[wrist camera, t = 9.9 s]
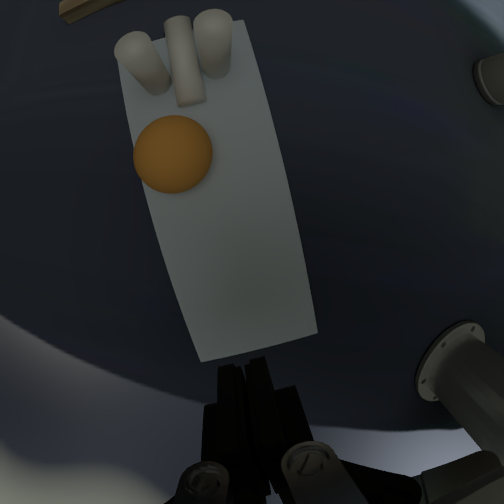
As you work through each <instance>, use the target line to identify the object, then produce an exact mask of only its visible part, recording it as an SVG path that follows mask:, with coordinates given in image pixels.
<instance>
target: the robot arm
mask: <svg viewBox="0 0 504 504" xmlns="http://www.w3.org/2000/svg"><path fill="white" fill-rule="evenodd" d="M245 374H246V381H245V378H244V375H243V372H242V369H241V367H240V366H238V367H235V365H234V364H229V365H224V366H219V367H218V387H217V403H214V404H208V405H205V406H204V414H203V431H202V451H201V462H199V463H196V464H193V465H192V466H190V467H188V468H187V469H186V470H185V471H184V472H183V474H182V475H181V477H180V480H179V483H178V487H177V490H176V494H175V496H174V497H172V498H171V499H170V500H169V501H167V502H166V503H164V504H266V496H267V495H271V490H270V484H269V480H270V483H271V485H272V487H273V489H274V491H275V493H276V494H279V496H280V498H281V500H282V502H283V504H504V357H502V356H501V355H500V354H498V353H497V352H496V351H494V350H493V349H492V348H490V347H489V346H488V345H486V344H485V335H484V331H483V329H482V327H481V326H480V325H478V324H477V323H475V322H473V321H469V320H467V321H462V322H459V323H457V324H455V325H453V326H452V327H450V328H448V329H447V330H446V331H445V332H444V333H442V334H441V335H440V336H439V337H438V338H437V339H436V340H435V342H434V343H433V344H432V345H431V347H430V348H429V349H428V351H427V352H426V354H425V355H424V357H423V359H422V361H421V363H420V365H419V368H418V371H417V374H416V379H415V386H416V390H417V392H418V394H419V395H420V396H421V397H422V398H423V399H425V400H427V401H437V400H440V401H441V403H442V404H443V405H444V406H445V407H446V408H447V410H448V411H449V412H450V413H451V414H452V415H453V416H454V418H455V419H456V420H457V421H458V422H459V423H460V425H461V426H462V427H463V428H464V429H465V430H466V432H467V433H468V434H469V435H470V436H471V438H472V439H473V440H474V441H475V442H476V444H477V445H478V446H479V447H480V448H481V450H482V451H478V452H475V453H473V454H470V455H468V456H465V457H463V458H460V459H458V460H455V461H452V462H450V463H447V464H444V465H441V466H438V467H435V468H432V469H429V470H426V471H423V472H422V473H421V474H420V475H417V476H413V477H408V476H406V475H401V474H395V473H391V472H386V471H382V470H378V469H374V468H369V467H366V466H362V465H358V464H354V463H351V462H347V461H344V460H340V459H339V458H338V457H337V455H336V454H335V452H334V451H333V449H331V447H330V446H329V445H327V444H325V443H323V442H317V441H314V440H313V437H312V434H311V431H310V428H309V425H308V422H307V419H306V416H305V413H304V410H303V407H302V404H301V401H300V398H299V395H298V392H297V389H296V386H295V385H293V386H290V387H286V388H282V389H278V390H274V387H273V384H272V380H271V377H270V373H269V370H268V366H267V363H266V359H265V356H263V357H259V358H255V359H250V364H247V365H245ZM246 382H247V384H246Z"/></svg>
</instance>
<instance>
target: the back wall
mask: <svg viewBox="0 0 504 504" xmlns="http://www.w3.org/2000/svg"><path fill="white" fill-rule="evenodd" d="M120 1H123V0H64V1H62V2H60V3H59V16H60V17H61V18H62V19H64V20H65V21H66V22H67V23H68V24H71V23H73V22H75V21H77V20H79V19H81V18H83V17H85V16H87V15H90V14H92V13H94V12H96V11H98V10H101V9H103V8H105V7H108V6H110V5H113V4H115V3H118V2H120Z"/></svg>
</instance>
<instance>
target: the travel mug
mask: <svg viewBox="0 0 504 504" xmlns="http://www.w3.org/2000/svg"><path fill="white" fill-rule="evenodd" d="M473 74H474V79H475V83H476V85H477V88H478V90H479V92H480V93H481V95H482V96H483V98H484V99H485V100H486V101H487V102H488V103H490V104H492V105H495V106H496V105H502V104H504V53H501V54H497V55H494V56H491V57H488V58H485V59H482V60H479V61H477V62H476V63H475V65H474V68H473Z"/></svg>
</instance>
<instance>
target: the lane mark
mask: <svg viewBox="0 0 504 504" xmlns="http://www.w3.org/2000/svg"><path fill="white" fill-rule="evenodd" d="M192 31H193V36H194V41H195V46H196V51H197V56H198V61H199V66H200V71H201V76H202V81H203V85H204V90H205V95H206V101H205V102H203V103H200V104H196V105H191V106H187V107H178V105H177V100H176V95H175V89H174V84H173V78H172V72H171V67H170V61H169V55H168V49H167V43H166V37H165V38H162V39H158V40H155V41H152V43H153V45H154V47H155V49H156V51H157V52H158V54H159V56H160V58H161V60H162V62H163V64H164V65H165V67H166V69H167V71H168V73H169V75H170V76H171V79H172V84H171V87H170V89H169V90H168V91H167V92H166V93H164V94H162V95H159V96H154V95H151V94H149V93H148V92H147V91H146V90H145V89H144V88H143V86H142V85H141V84H140V83H139V82H138V81H137V80H136V79H135V78H134V77H133V76H132V75H131V73H130V72H129V71H128V70H127V69H126V68H125V67H124V66H123V65H122V64H121V63H120V62H119V61H118V67H119V73H120V79H121V85H122V91H123V97H124V102H125V107H126V113H127V118H128V123H129V127H130V132H131V137H132V141H133V146H134V147H135V143H136V141H137V138H138V136H139V135H140V133H141V132H142V131H143V129H144V128H145V127H146V126H147V125H149V124H150V123H151V122H153V121H154V120H156V119H158V118H161V117H164V116H169V115H180V116H185V117H188V118H191V119H193V120H194V121H196V122H198V123H199V124H200V125H201V126H202V127H203V128H204V129H205V131H206V132H207V134H208V135H209V137H210V140H211V143H212V149H213V156H212V162H211V166H210V168H209V170H208V172H207V174H206V176H205V177H204V178H203V179H202V180H201V182H199V183H198V184H197V185H196V186H194V187H193V188H191V189H189V190H187V191H185V192H181V193H176V194H167V193H162V192H158V191H156V190H154V189H152V188H150V187H149V186H147V185H146V184H145V183H144V182H143V181H142V184H143V187H144V191H145V195H146V199H147V203H148V206H149V210H150V213H151V217H152V221H153V224H154V228H155V231H156V234H157V238H158V241H159V244H160V248H161V251H162V254H163V257H164V260H165V264H166V267H167V270H168V273H169V276H170V279H171V282H172V285H173V288H174V291H175V294H176V297H177V300H178V302H179V305H180V308H181V311H182V314H183V316H184V319H185V322H186V325H187V327H188V330H189V333H190V335H191V338H192V341H193V343H194V346H195V348H196V351H197V353H198V356H199V359H200V361H201V362H205V361H209V360H214V359H219V358H223V357H228V356H232V355H237V354H241V353H245V352H249V351H253V350H257V349H261V348H265V347H269V346H273V345H277V344H281V343H284V342H288V341H292V340H295V339H299V338H302V337H306V336H309V335H313V334H316V333H318V331H317V325H316V320H315V314H314V308H313V303H312V297H311V292H310V286H309V281H308V276H307V270H306V265H305V260H304V255H303V250H302V245H301V240H300V236H299V231H298V226H297V222H296V217H295V212H294V208H293V203H292V199H291V194H290V190H289V186H288V181H287V177H286V173H285V169H284V164H283V160H282V156H281V152H280V148H279V144H278V140H277V136H276V132H275V128H274V124H273V121H272V117H271V113H270V109H269V105H268V102H267V98H266V94H265V91H264V87H263V84H262V80H261V77H260V73H259V70H258V66H257V63H256V59H255V56H254V53H253V49H252V46H251V43H250V39H249V36H248V33H247V30H246V26H245V23H244V20H239V21H233V25H232V43H231V64H230V71H229V73H228V74H227V75H226V76H225V77H223V78H221V79H210V78H208V77H207V76H206V75H205V74H204V73H203V69H202V64H201V60H200V55H199V50H198V46H197V41H196V36H195V31H194V30H192Z"/></svg>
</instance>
